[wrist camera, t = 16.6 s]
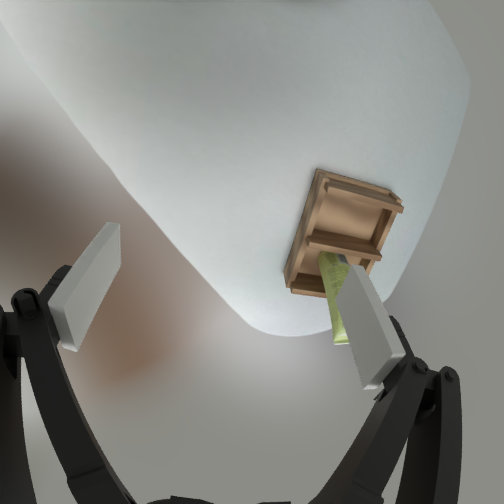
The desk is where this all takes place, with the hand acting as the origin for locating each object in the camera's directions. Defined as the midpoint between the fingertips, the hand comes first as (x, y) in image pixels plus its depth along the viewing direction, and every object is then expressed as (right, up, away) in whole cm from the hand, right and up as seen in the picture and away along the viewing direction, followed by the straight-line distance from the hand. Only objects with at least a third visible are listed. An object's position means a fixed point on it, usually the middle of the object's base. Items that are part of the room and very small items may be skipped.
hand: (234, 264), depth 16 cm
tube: (+15, 0, +35) cm, 38 cm away
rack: (+16, +4, +34) cm, 38 cm away
